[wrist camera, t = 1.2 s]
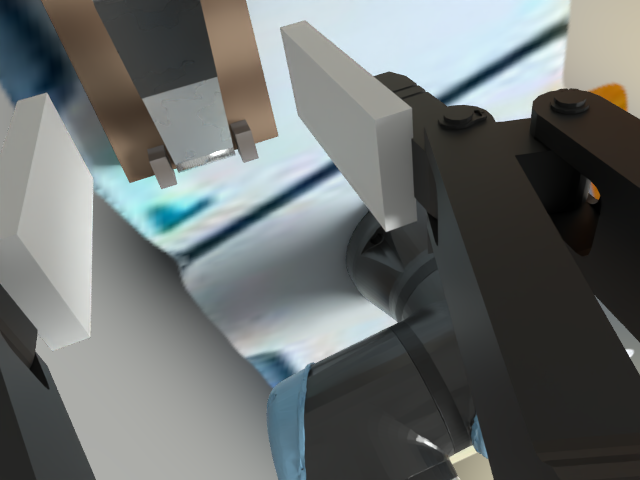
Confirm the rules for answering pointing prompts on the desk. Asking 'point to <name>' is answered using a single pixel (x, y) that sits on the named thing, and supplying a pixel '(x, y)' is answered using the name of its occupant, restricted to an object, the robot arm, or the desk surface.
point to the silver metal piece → (172, 74)
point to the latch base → (129, 109)
